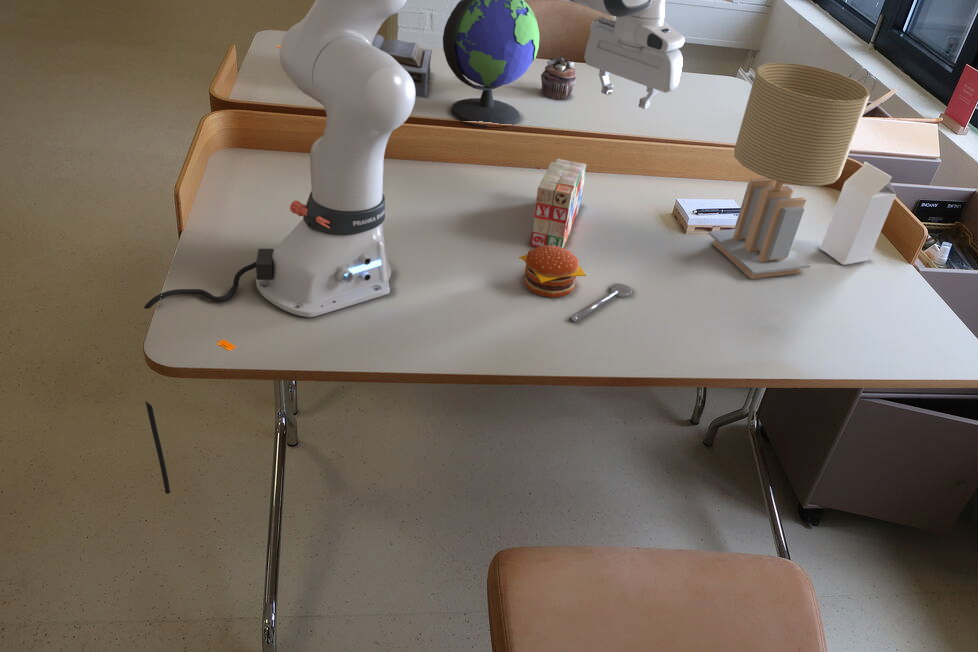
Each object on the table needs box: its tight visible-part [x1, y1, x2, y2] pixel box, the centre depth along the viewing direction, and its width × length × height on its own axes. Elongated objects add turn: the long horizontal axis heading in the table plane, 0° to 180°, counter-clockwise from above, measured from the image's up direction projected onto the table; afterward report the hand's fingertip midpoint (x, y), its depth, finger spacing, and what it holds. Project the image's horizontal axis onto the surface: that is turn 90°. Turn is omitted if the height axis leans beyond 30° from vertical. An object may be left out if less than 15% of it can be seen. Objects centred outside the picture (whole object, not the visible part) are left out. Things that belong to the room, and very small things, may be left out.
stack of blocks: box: [529, 158, 587, 248], centre depth 160 cm, size 21×6×12 cm, turn 168°
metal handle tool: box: [571, 283, 632, 323], centre depth 142 cm, size 16×4×1 cm, turn 142°
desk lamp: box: [708, 61, 871, 280], centre depth 153 cm, size 20×20×35 cm
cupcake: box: [540, 56, 577, 101], centre depth 223 cm, size 10×10×10 cm
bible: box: [372, 33, 433, 98], centre depth 215 cm, size 23×27×10 cm
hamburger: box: [518, 245, 587, 298], centre depth 143 cm, size 9×10×7 cm
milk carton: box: [819, 161, 897, 266], centre depth 164 cm, size 7×7×19 cm
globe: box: [442, 0, 540, 129], centre depth 198 cm, size 22×22×30 cm
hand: (624, 100), depth 163 cm, fingers open, 8 cm apart
